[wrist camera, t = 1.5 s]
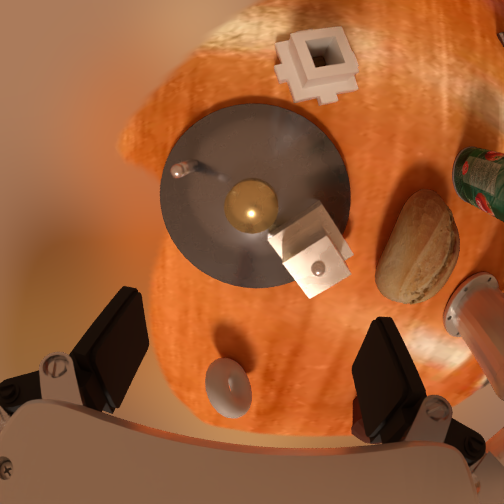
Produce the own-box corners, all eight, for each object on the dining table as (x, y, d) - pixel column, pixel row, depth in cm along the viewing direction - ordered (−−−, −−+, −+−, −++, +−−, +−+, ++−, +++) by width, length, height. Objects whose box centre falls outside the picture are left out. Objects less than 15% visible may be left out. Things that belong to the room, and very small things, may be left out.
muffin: (336, 399, 46) (342, 442, 36) (388, 372, 42) (402, 415, 33) (361, 418, 49) (368, 456, 40) (406, 396, 45) (418, 433, 36)
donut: (208, 348, 42) (193, 397, 33) (226, 342, 41) (214, 392, 32) (241, 384, 45) (233, 430, 36) (258, 379, 44) (253, 427, 35)
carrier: (320, 84, 25) (337, 66, 17) (360, 260, 33) (382, 299, 25) (140, 143, 30) (98, 150, 22) (201, 297, 38) (183, 339, 30)
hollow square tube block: (338, 30, 22) (353, 7, 16) (362, 97, 25) (385, 89, 19) (264, 43, 24) (261, 21, 17) (288, 112, 27) (292, 106, 21)
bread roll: (451, 198, 29) (486, 217, 22) (413, 294, 35) (435, 327, 28) (394, 175, 29) (426, 189, 22) (358, 283, 35) (374, 320, 28)
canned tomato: (454, 207, 29) (504, 237, 19) (448, 149, 26) (504, 162, 16) (491, 197, 28) (540, 223, 18) (487, 144, 25) (541, 157, 15)
